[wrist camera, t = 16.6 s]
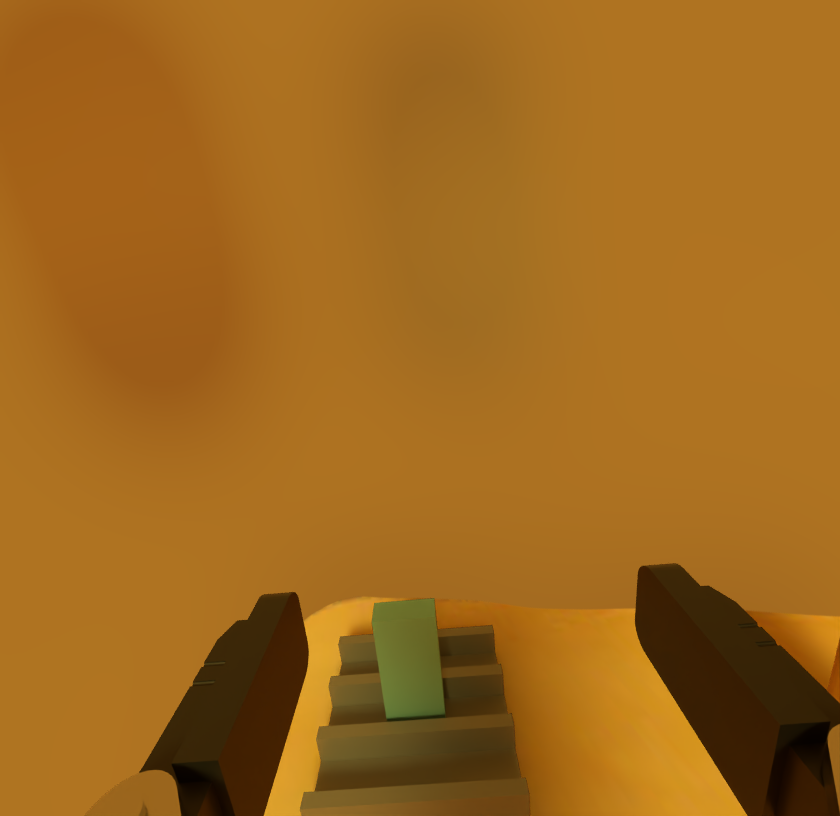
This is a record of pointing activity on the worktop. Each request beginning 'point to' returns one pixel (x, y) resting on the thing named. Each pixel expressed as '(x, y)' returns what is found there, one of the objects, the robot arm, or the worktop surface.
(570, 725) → the worktop surface
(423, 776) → the rack
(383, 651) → the card
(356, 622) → the worktop surface
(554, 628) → the worktop surface
